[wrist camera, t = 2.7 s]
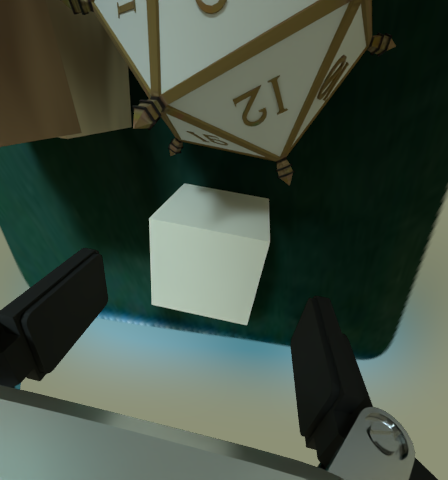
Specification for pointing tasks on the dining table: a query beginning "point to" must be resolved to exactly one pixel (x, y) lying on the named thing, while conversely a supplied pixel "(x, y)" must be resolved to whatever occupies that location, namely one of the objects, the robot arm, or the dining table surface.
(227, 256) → the ivory cube
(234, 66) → the game die
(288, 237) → the dining table surface
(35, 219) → the dining table surface
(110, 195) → the dining table surface
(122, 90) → the oak block
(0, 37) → the walnut block
